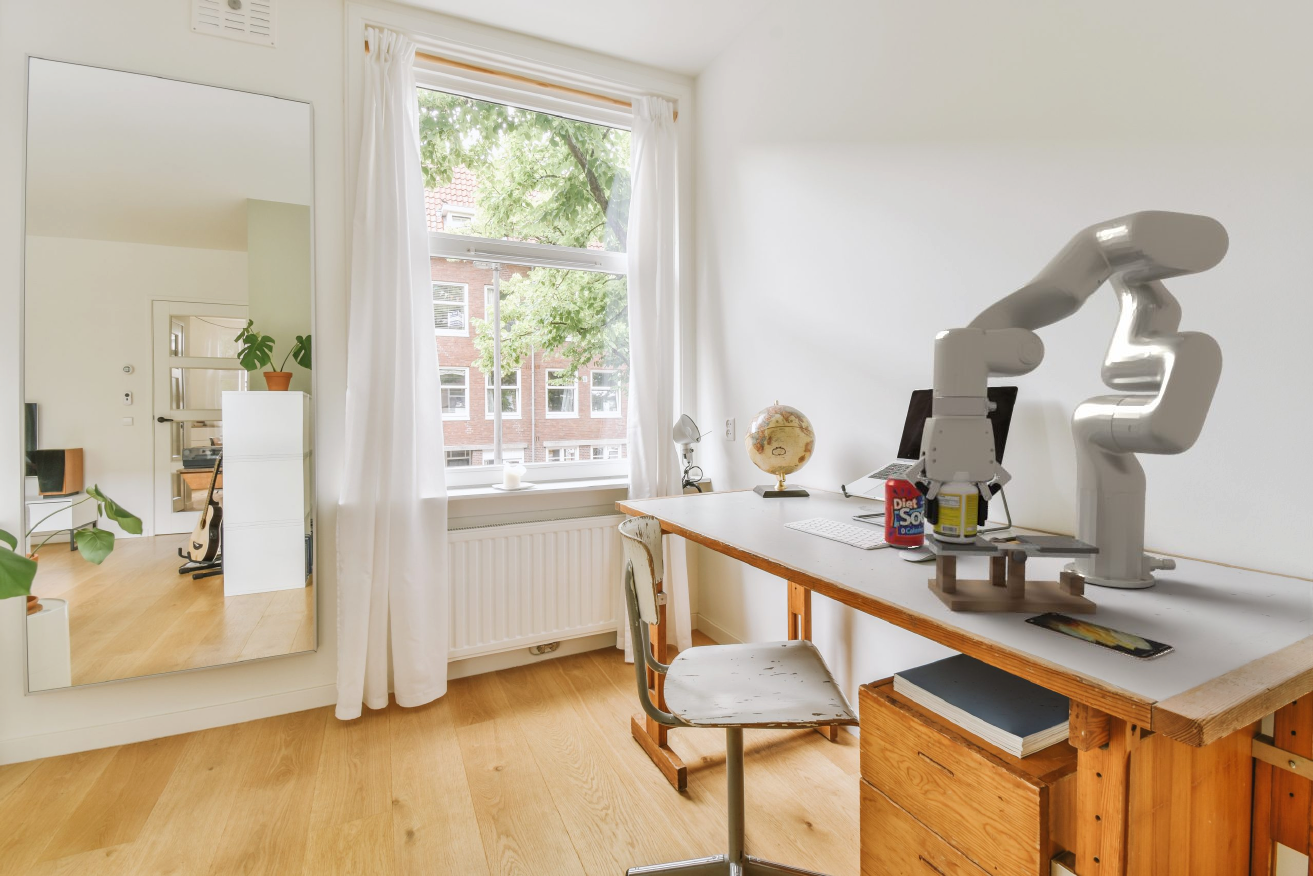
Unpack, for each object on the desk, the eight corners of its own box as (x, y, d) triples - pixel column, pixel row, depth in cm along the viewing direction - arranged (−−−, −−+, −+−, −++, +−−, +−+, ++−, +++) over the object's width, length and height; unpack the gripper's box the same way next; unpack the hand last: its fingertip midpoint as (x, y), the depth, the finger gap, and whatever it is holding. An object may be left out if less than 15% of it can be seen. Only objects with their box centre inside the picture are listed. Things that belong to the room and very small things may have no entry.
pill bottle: (967, 535, 98) (970, 467, 97) (983, 545, 92) (986, 472, 91) (927, 534, 98) (929, 466, 98) (940, 543, 92) (943, 471, 91)
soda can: (896, 539, 136) (896, 473, 135) (930, 545, 129) (931, 476, 128) (877, 545, 131) (877, 476, 130) (912, 552, 124) (913, 479, 124)
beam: (1068, 548, 97) (1069, 536, 97) (1098, 562, 89) (1099, 548, 89) (924, 545, 100) (925, 533, 99) (941, 558, 92) (941, 545, 92)
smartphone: (1051, 611, 89) (1175, 646, 76) (1051, 615, 89) (1175, 651, 76) (1021, 620, 86) (1145, 658, 72) (1021, 624, 86) (1145, 664, 72)
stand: (1059, 590, 99) (1060, 536, 98) (1099, 614, 88) (1101, 553, 87) (927, 587, 101) (928, 535, 101) (951, 610, 91) (952, 551, 90)
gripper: (1007, 409, 96) (1003, 521, 97) (894, 408, 99) (891, 518, 100) (1030, 410, 89) (1025, 531, 90) (907, 409, 91) (904, 527, 92)
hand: (955, 523), depth 95 cm, fingers closed on pill bottle, 6 cm apart
